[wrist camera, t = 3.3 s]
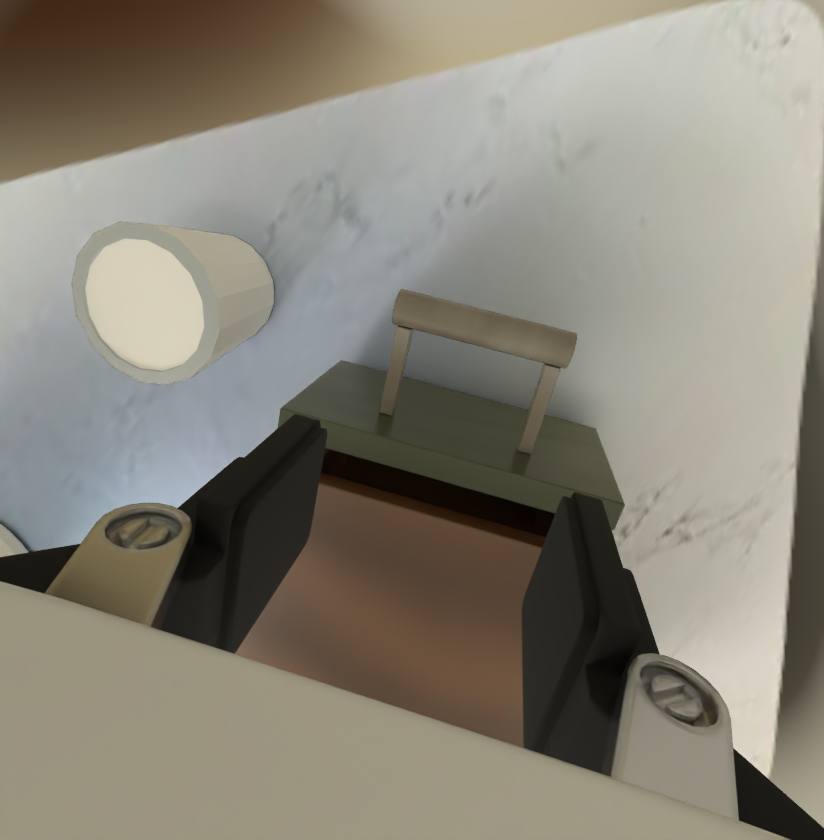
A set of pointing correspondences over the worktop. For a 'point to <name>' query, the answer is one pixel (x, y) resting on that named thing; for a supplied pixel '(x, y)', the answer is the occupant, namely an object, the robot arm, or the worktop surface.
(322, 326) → the worktop surface
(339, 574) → the cabinet
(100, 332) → the white candle jar
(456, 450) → the drawer
